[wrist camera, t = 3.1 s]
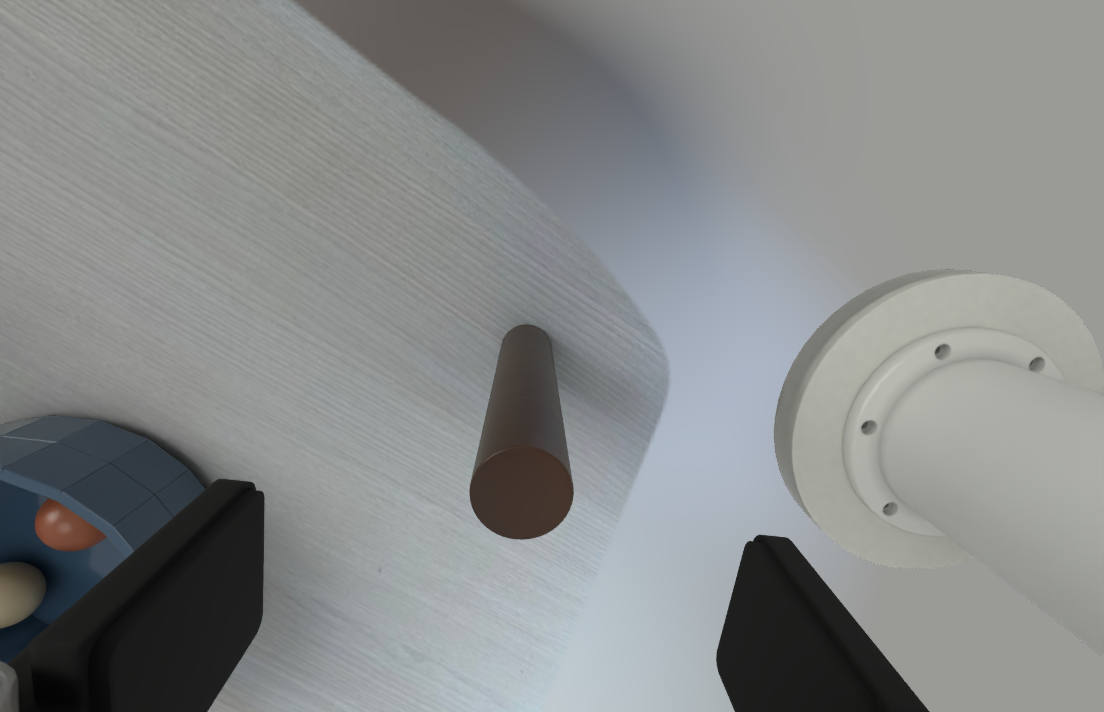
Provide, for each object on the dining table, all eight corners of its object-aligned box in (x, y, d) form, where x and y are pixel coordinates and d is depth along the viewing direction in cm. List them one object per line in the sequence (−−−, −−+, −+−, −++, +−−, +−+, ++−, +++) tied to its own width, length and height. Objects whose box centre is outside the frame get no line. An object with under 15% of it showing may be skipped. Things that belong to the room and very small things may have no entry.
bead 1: (60, 552, 29) (4, 592, 26) (65, 602, 30) (11, 647, 27) (-3, 546, 29) (-67, 585, 26) (3, 597, 30) (-58, 641, 27)
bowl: (238, 430, 29) (164, 486, 23) (238, 667, 32) (174, 766, 27) (-72, 394, 28) (-233, 443, 22) (-35, 644, 31) (-164, 742, 25)
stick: (555, 328, 28) (580, 453, 13) (547, 376, 28) (565, 545, 14) (504, 321, 28) (474, 440, 13) (498, 370, 28) (464, 534, 14)
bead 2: (133, 476, 28) (84, 509, 25) (136, 530, 29) (89, 568, 26) (69, 470, 28) (12, 501, 25) (73, 524, 29) (18, 561, 26)
